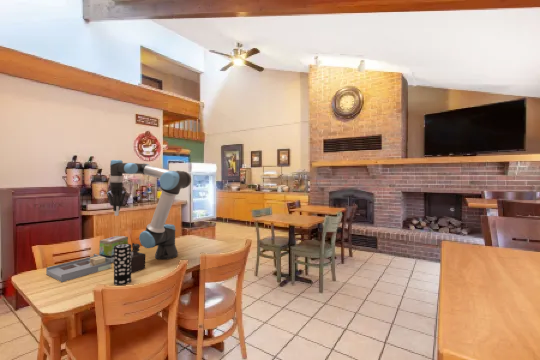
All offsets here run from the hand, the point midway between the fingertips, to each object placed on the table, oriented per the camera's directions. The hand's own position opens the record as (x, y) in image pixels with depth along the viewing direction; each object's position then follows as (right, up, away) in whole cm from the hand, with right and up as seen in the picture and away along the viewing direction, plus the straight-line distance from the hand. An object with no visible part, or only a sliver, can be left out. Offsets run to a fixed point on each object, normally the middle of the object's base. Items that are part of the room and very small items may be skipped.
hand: (116, 215), depth 188 cm
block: (+1, -28, -22) cm, 35 cm away
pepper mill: (+25, -31, -24) cm, 47 cm away
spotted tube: (+27, -31, -42) cm, 59 cm away
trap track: (-7, -30, -27) cm, 41 cm away
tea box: (+1, -30, -5) cm, 30 cm away
